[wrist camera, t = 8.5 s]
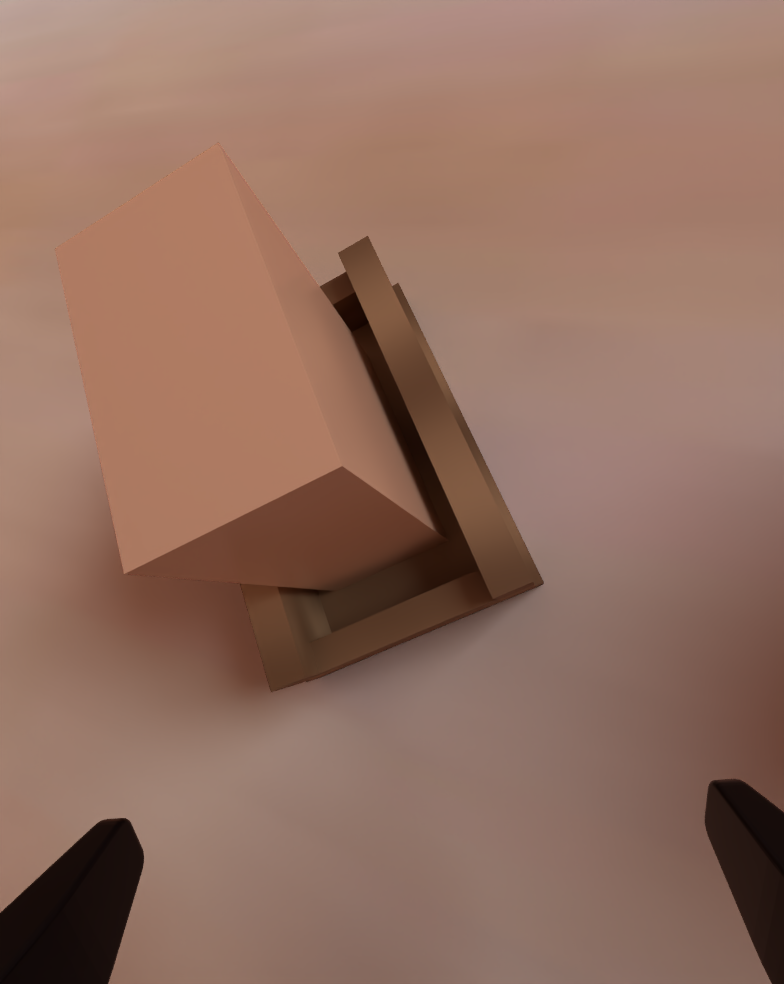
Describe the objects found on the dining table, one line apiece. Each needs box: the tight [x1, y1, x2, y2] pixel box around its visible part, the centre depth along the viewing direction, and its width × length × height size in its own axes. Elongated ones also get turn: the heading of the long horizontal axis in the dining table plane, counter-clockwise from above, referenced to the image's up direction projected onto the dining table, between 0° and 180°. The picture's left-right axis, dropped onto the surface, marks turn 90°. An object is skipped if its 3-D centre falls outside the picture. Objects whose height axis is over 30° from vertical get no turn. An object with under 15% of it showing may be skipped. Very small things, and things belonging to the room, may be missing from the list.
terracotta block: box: [55, 142, 449, 591], centre depth 15 cm, size 8×4×10 cm, turn 22°
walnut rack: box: [240, 236, 544, 692], centre depth 18 cm, size 13×9×4 cm
